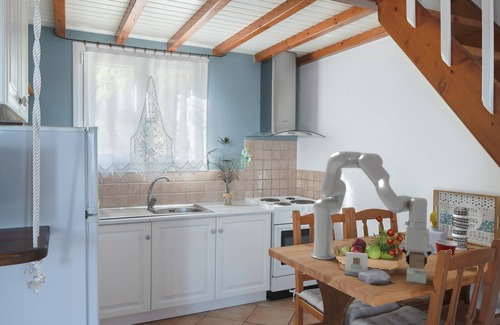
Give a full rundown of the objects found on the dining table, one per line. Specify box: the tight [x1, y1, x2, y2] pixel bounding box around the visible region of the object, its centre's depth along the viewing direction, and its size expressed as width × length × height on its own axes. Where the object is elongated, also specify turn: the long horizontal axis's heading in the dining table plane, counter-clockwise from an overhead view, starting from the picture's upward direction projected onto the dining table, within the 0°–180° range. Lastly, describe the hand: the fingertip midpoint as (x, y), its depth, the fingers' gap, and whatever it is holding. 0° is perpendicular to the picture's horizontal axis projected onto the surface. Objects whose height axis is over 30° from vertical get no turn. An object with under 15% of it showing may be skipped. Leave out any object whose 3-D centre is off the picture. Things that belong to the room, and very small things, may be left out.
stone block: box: [357, 268, 391, 285], centre depth 175 cm, size 12×5×10 cm
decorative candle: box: [451, 206, 469, 251], centre depth 238 cm, size 9×9×25 cm
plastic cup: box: [435, 239, 458, 257], centre depth 203 cm, size 11×11×12 cm
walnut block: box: [408, 251, 425, 270], centre depth 178 cm, size 6×6×6 cm
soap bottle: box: [427, 211, 448, 256], centre depth 226 cm, size 12×7×23 cm, turn 37°
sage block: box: [406, 267, 427, 285], centre depth 178 cm, size 8×8×4 cm
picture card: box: [344, 251, 369, 277], centre depth 184 cm, size 6×10×10 cm, turn 74°
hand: (416, 264), depth 178 cm, fingers closed on walnut block, 6 cm apart
